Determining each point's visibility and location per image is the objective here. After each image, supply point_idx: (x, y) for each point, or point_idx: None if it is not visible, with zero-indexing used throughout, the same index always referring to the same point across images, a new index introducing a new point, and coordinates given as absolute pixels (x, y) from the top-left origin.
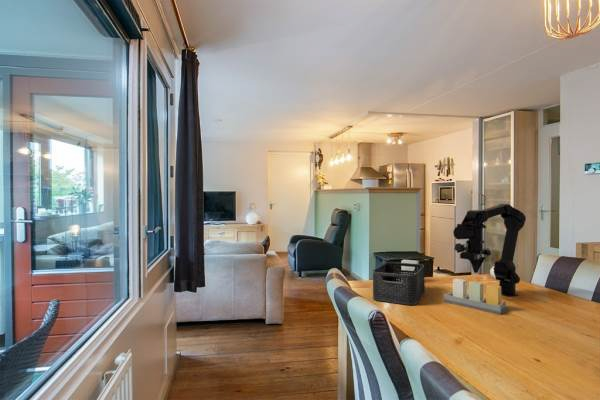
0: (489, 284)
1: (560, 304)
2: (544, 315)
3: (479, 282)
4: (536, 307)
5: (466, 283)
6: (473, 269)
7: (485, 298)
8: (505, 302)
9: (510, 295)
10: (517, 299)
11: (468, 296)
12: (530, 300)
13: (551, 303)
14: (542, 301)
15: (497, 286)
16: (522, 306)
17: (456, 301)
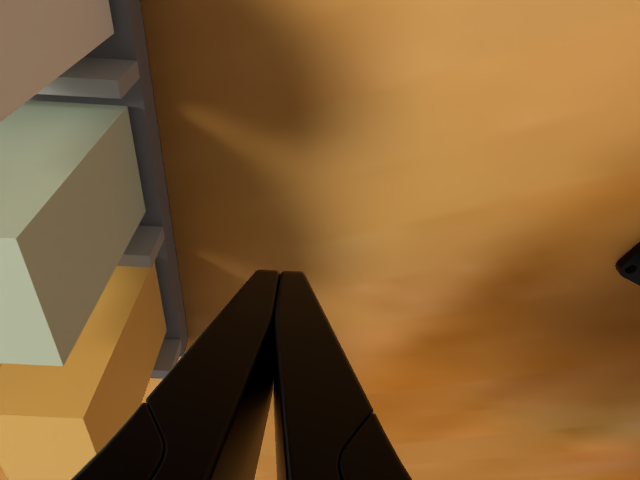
0: (66, 421)
1: (562, 476)
2: (262, 458)
3: (47, 329)
4: (403, 421)
5: (13, 110)
6: (218, 324)
7: (129, 255)
8: (162, 377)
9: (636, 283)
10: (555, 325)
11: (55, 91)
12: (573, 380)
13: (559, 452)
14: (585, 423)
15: (63, 476)
16: (366, 374)
17: None
